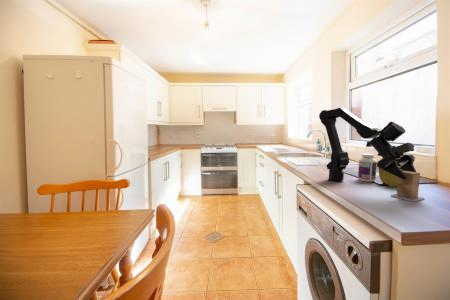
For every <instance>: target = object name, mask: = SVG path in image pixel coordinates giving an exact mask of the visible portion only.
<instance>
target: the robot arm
mask: <svg viewBox="0 0 450 300" xmlns="http://www.w3.org/2000/svg"><path fill="white" fill-rule="evenodd" d="M318 117H319V120H320V122H321V123H322V125H323V126H324V127H325V131H326V134H327V137H328V142H329V145H330V149H331V154H330V161H329V162H328V163H327V164H326V169H327V170H328V178H327V181H330V182H331V181H332V182H337V183H338V182H339V183H342V181H344V179H345V172H344V170H346V168H347V166H348V165H349V163H350V157H349V153H348V152H347V151H344V150H343V149H342V145H341V141H340V138H339V134H338V131H337V127H336V122H337V119H338V118H341V119H342V120H344V121H345V122H347V124H348V125H350V126H352V127H353V128H354V129H355V131H356V133H357V134H358V135H359V136H360V137H361V138H362V139H367V141H366V145H365V147H366V148H372V147H373V149H374V150H375V151H376V153H377V156H378V157H382V158H381V159H379V160H378V161H377V165H376V168H378V170H379V169H382V170H385V171H387V172H389V173H391V174H393V175H395V176H397V177H399V178H401V179H403V180H405V179H406V177H405V175H404V174H403V172H402V171H401V169H402V170H404V171H411V172H417V171H416V168H415V166H414V162H415V160H416V157H415V156H414V155H413V154H409V152H415V145H414V144H413V143H412V142H406V143H403V144H400V145H397V146H396V145H392V144H391V143H390V142H395V141H396V140H398V138H400V137H401V136H403V134H405V133H406V132H407V131H406V129H405V128H404V127H403V126H401V125H399V124H398V123H396V122H394V121H390V122H388V123H387V125H385V126H384V127H383V128H382V129H381V128H380V129H379V127H377V126H375V125H372V124H371V123H367V122H365V121H363V120H361V118H359V117H358V116H356V115H355V114H354V113H352V112H351V111H349V110H347V108H345V107H337V108H335V109H334V108H333V109H323V110H321V111H320V113H319V114H318ZM369 139H370V140H369ZM406 153H407V154H406ZM384 167H385V168H384Z"/></svg>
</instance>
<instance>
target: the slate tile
mask: <svg viewBox="0 0 450 300" xmlns="http://www.w3.org/2000/svg"><path fill="white" fill-rule="evenodd" d="M390 197H393V198H396V199H400V200H405V201H409V202H412V203H414V202H419V201H422V200H425V197H423V196H422V197H421V196H419V195H418V197H417V198H413V199H410V198H406V197H402V196H398V195H397V193H392V194H390Z"/></svg>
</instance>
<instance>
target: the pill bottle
mask: <svg viewBox="0 0 450 300" xmlns="http://www.w3.org/2000/svg"><path fill="white" fill-rule="evenodd" d="M377 162H378V161H377V159H376V158H375V154H374V153H372V154H371V153H362V154H361V158H359V159H358V172H357V179H358V180H359V181H362V182H367V183H372V181H374V182H375V181H376V177H377Z"/></svg>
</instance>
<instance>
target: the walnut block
mask: <svg viewBox="0 0 450 300" xmlns="http://www.w3.org/2000/svg"><path fill="white" fill-rule="evenodd" d="M402 172H403V174H404V175H405V177H406V179H405V180H403V179H401V178H399V177H398V186H397V187H396V188H397V189H396V194H397V195H398V196H402V197H406V198H410V199H413V198H417V197H418V196H419V191H420V189H419V188H420V180H421V177H420V176H421V172H417V171H416V172H411V171H402Z"/></svg>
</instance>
